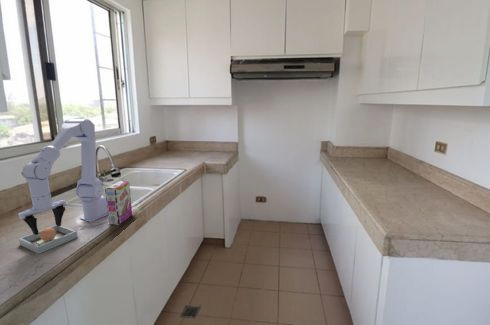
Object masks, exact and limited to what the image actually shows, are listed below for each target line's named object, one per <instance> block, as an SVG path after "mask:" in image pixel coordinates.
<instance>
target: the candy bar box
mask: <svg viewBox="0 0 490 325" xmlns="http://www.w3.org/2000/svg"><path fill="white" fill-rule="evenodd" d="M130 185H131V184H130V181H124V180H122V181H121V180H120V181H117V182H116V183H113V184H111V185H109V186H107V187H104V192H105V193H104V194H105V198H106V202H107V211H108V215H107V219H108V225H109V226H120V225H121V224H123V223H124V222H126V220H128V219H129V218H130V217H132V216H133V208H132V199H131V187H130Z"/></svg>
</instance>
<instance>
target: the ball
mask: <svg viewBox="0 0 490 325" xmlns="http://www.w3.org/2000/svg"><path fill="white" fill-rule="evenodd" d="M51 227H52V226H50V227H45V228H43V229H41V230H42V231H41V230H40V231H41V232H40V238H39V239H41V240H43V241H50V240H52V239H54V238H55V236H57V232H56V231H55V229H53V228H51Z"/></svg>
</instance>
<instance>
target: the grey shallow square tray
mask: <svg viewBox="0 0 490 325" xmlns="http://www.w3.org/2000/svg"><path fill="white" fill-rule="evenodd" d="M50 227H51V228H53V229H55V231H56V233H57V232H59V233H62V234H64V235H62V236H57V235H56V236H55V238H54V239H52V240H50V241H43V240H42V239H41V238H40V232H41V231H42V230H43V229H41V230H38V235H35V234H33V233H31V234H28V235H25V236H22V237H20V238H18V242H19V245H20V246H22V247H24V248H26V249H27V250H30V251H32V252H34V253H35V254H38V255H39V254H41V253H44V252H47V251H49V250H51V249H54V248H56V247H58V246H60V245H63V244H64V243H67V242H70V241H72V240H75V239H77V238H78V232H77V231H76V230H74V229H71V228H68V227H67V226H62V225H61V226H57V225H56V224H55V225H53V226H50ZM38 239H41V240H38ZM36 240H38V241H36ZM33 241H36V244H35V243H33ZM37 244H39V245H37Z"/></svg>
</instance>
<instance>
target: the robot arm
mask: <svg viewBox="0 0 490 325" xmlns="http://www.w3.org/2000/svg"><path fill="white" fill-rule="evenodd" d="M95 132H96V130H95V124H94V123H93V122H92V121H91V119H88V118H84V119H71V118H68V119H66V120H65V121H64V122H63V123H62V124H61V130H60V131H59V132H58V133H57V135H56V136H55V138H54V139H53V141H52V142H51V143H50V145H46V146H43V147H41V148H40V151H39V153H38V154H37V155H36V156H35V157H34V158H32V160H31V162H28V163H26V164H25V165H24V166H23V167H22V171H21V174H20V175H21V176H22V177H23V178H25V180H26V183H27V184H28V188H29V189H28V190H29V193H30V198H31V202H32V207H31V208H29V209H26V210H23V211H21V212H18V214H17V215H18V218H19V219H20V220H23V221H24V222H25V223H26V225H27V226H28V227H29V228H30V230H31V231H32V234H35V235H38V231H39V229H38V224H37V223H38V222H37V221H38V219H37V217H35V215H38V214H41V213H44V212H47V211H51V210H52V213H53V216H54V222H55V225H57V226H62V219H63V216H64V214H65V211H66V207H65V206H67V201H66V200H64V199H61V200H57V201H53V199H52V193H51V188H50V184H49V178H48V177H49V176H51V174H52V167H53V165H54V164H55V163H56V161H57V160H58V159H59V158H60V156H61V152H60V151H61V150H62V149H63V147H64V146H65V145H66V144H68V142H69V141H70V140H71V139H72V138H75V139H77V140H79V141H80V144H81V146H80V147H81V149H80V150H81V151H80V154H81V177H80V179H78V180H77V182H76V183H77V184H76V185H77V186H76V188H75V196H77V197H78V198H79V200H81V205H82V206H81V207H82V212H83V216H81V217H79V219H80V220H83V221H86V222H94V221H95V220H99V219H101V218H103V217H106V216H107V217H108V211H107V202H106V196H104V195H103V193H104V187H103V184H102V183H103V182H102V180H101V179H99V178H98V177H97V158H96V157H97V156H96V154H97V151H96V146H97V145H96V142H97V141H96V133H95Z"/></svg>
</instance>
